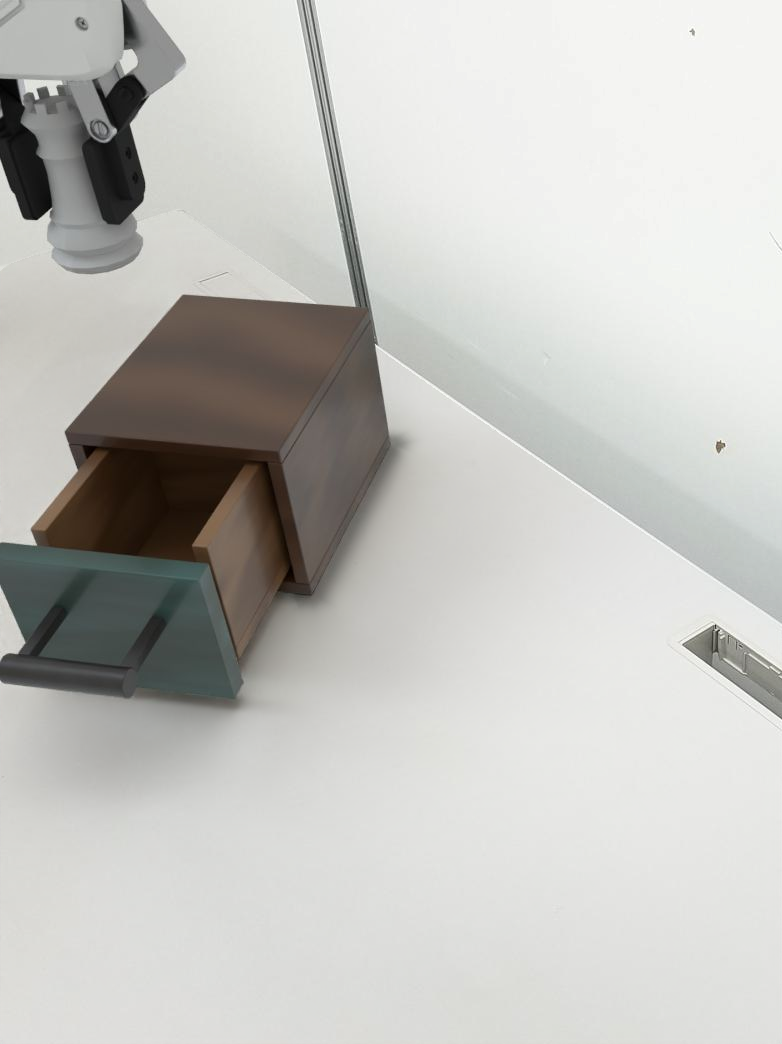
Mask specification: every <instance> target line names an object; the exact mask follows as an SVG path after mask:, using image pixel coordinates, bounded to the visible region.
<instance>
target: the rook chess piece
mask: <svg viewBox="0 0 782 1044" xmlns="http://www.w3.org/2000/svg"><path fill="white" fill-rule="evenodd" d="M56 91H57V94H55V95H51V94H50V91H49V88H48V86H47V85H45V86H40V87H37V88H36V92H37V96H38V98H37V99H36V97H35V94H34V92H31V91H27V92H26V94H25V95H24V96H23V98H24V100H23V103H24V106H25V110H24V113H23V115H22V117H21V123H22V124H23V125H24V126H25V127H26V128H28V129H29V130H30V131H31V132H32V133H34V134H35V136H36V138H37V140H38V144H39V145H38V148H37V151H36V154H37V155H38V156H39V157H40V158H42V159H43V162H44V165H45V168H46V171H47V175H48V180H49V186H50V192H51V198H52V208H51V209H50V210H49V219H50V221H49V223H48V224H47V228H46V229H47V230H46V241H47V242H48V243H49V244H50V245H51V246H52V247H53V248H52V249H51V257H50V258H51V259H52V260H53V261H54V262H55V264H57V265H58V266H60V267H61V268H62V269H63V270H65V271H67V272H70V273H72V274H76V275H97V274H104V273H109V272H113V271H116V270H119V269H123V268H125V267H126V266H128V265H129V264H131V263H133V262H134V261H135V260H136V259H137V257H139V255H140V253H141V251H142V248H143V246H144V237H143V236H142V235H140V233H138V231H137V230H138V221H137V219H136V217H135V216H134V214H133V212H132V213H131V214H130V215H129V216H128V217H127V218H126V219H125V220H124V221H123V222H122V223H121V224H120V225H112V224H107V223H106V221H104V220H103V219H102V216H101V213H100V209H99V206H98V203H97V199H96V196H95V193H94V189H93V186H92V183H91V179H90V176H89V173H88V169H87V166H86V162H85V159H84V156H83V152H82V145H83V143H84V142H86V141H87V140H88V139H89V138H90V134H89V132H88V130H87V128H86V125H85V123H84V121H83V118H82V116H81V113H80V111H79V109H78V106H77V104H76V102H75V99H74V97H73V95H72V92H71V90H70V87H69V85H68V84H56Z"/></svg>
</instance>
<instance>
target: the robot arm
mask: <svg viewBox="0 0 782 1044" xmlns="http://www.w3.org/2000/svg"><path fill="white" fill-rule="evenodd" d="M129 50H132V51H133V52H134V54H135V56H136V60H137V65H136V66H134V67H133V68H132V69H130V70H129V71H128V72H127V73H126V74H125V71H124V69H123V67H122V64H121V60H122V59H123V56H124V51H129ZM186 59H187V58H186V57H185V55H184V54H183V52H182V51H181V50H180V48H179V47H178V46H177V44H176V43H175V41H174V40H173V39H172V37H171V36H170V35H169V34H168V32H167V31H166V30H165V28H164V27H163V26H162V24H161V23H160V22H159V20H158V19H157V18H156V17H155V15H154V13H153V12H152V11H151V10H150V9H149V7H148V3H147V0H0V163H1V166H2V169H3V172H4V176H5V177H6V181H7V183H8V187H9V189H10V191H11V192H12V193H13V194H14V198H15V199H16V203H17V205H18V208H19V211H20V214H21V217H22V218H23V220H24V221H38V220H39V219H41V218H42V217H44V216H45V215H46V214H47V213H48V212H50V211H51V210H52V198H51V192H50V186H49V180H48V175H47V171H46V168H45V165H44V162H43V159H42V158H40V157H39V156H38V155H37V154H36V151H37V148H38V145H39V144H38V140H37V138H36V136H35V134H34V133H32V132H31V131H30V130H29V129H28V128H26V127H25V126H24V125H23V124H22V123H21V117H22V115H23V113H24V110H25V106H24V103H23V100H24V98H23V96H24V95H25V94H26V93H27V92H26V86H25V81H24V80H30V81H34V80H35V81H60V82H61V81H66V82H67V85H68V88H69V91H70V90H71V91H70V93H71V92H72V95H73V97H74V99H75V102H76V104H77V106H78V109H79V111H80V113H81V116H82V118H83V121H84V123H85V125H86V128H87V130H88V132H89V134H90V138H89V139H88V140H87V141H86V142H84V143H83V145H82V152H83V156H84V159H85V162H86V166H87V169H88V173H89V176H90V179H91V183H92V186H93V189H94V193H95V196H96V199H97V203H98V206H99V209H100V213H101V216H102V219H103V220H104V221H106V223H107V224H112V225H120V224H121V223H122V222H123V221H124V220H125V219H126V218H127V217H128V216H129V215H130V214H131V213H132V214H133V212H134V211H135V210H136V209H138V207H139V206H140V205H142V203H143V202H144V200H145V193H146V179H145V175H144V172H143V167H142V165H141V164H142V163H141V160H140V157H139V153H138V149H137V146H136V142H135V138H134V134H133V131H132V127H131V123H132V122H133V121H134V120H136V119H137V117H138V115H139V112H140V110H141V109H142V108H143V106H144V105H145V103H146V102H147V101H148V99H149V98H150V96H151V95H153V94H154V93H155V92H157V91H159V90H160V89H161V88H163V87H164V86H165V85H167V84H168V83H170V82H171V81H173V80H174V79H175V78H176V77H177V76H179V74H181V73H182V72H183V71H184V70H185V68H186V67H187V61H186Z"/></svg>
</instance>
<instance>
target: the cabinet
mask: <svg viewBox="0 0 782 1044" xmlns="http://www.w3.org/2000/svg"><path fill="white" fill-rule="evenodd" d="M371 319H372V317H371V311H370V308H369V307H364V306H351V305H350V306H349V305H338V304H337V305H335V304H321V303H311V302H309V303H308V302H296V301H295V302H294V301H281V300H268V299H267V300H266V299H252V298H241V297H240V298H239V297H223V296H213V295H211V296H210V295H199V294H198V295H197V294H184V293H183V294H181V296H180V297H179V298H178V299H177V300H176V301H175V302H174V304H173V305H172V306H171V307H170V308H169V309H168V310H167V312H166V313H165V314H164V316H162V318H161V319H160V320H159V321H158V322H157V324H156V325H155V326H154V327H153V328H152V329H151V330H150V331H149V333H148V334H147V335H146V336H145V338H144V339H143V340H142V341H140V343H139V344H138V345H137V346H136V347H135V349H134V350H133V351H132V352H131V353H130V355H128V357H127V358H126V360H124V361H123V363H122V364H121V365H120V366H119V367H118V368H117V369H116V371H115V372H114V373H113V374H112V376H111V377H110V378H109V379H108V380H107V381H106V383H104V385H103V386H102V387H101V388H100V390H99V391H98V392H96V394H95V395H94V397H92V399H91V400H90V401H89V402H88V403H87V404H86V406H84V408H83V409H82V410H81V411H80V413H78V415H77V416H76V417H75V419H74V420H73V421H72V422H71V423H70V424H69V425H68V426H67V428H65V430H64V436H65V439H66V441H67V443H68V448H69V450H70V453H71V456H72V459H73V461H74V464H75V467H76V469H77V471H78V470H79V469H80V468H81V466H82V465H83V464H84V463H85V462H86V460H87V459H88V458H89V457H90V455H91V454H92V453H93V452H94V451H95V449H96V448H97V447H98V446H99V447H110V448H121V449H132V450H142V451H153V452H164V453H175V454H186V455H197V456H208V457H219V458H230V459H241V460H252V461H263V462H268V467H269V471H270V476H271V480H272V484H273V488H274V492H275V497H276V501H277V505H278V509H279V514H280V518H281V522H282V526H283V530H284V535H285V539H286V543H287V547H288V551H289V556H290V560H291V564H292V565H291V567H290V568H289V570H288V572H287V574H286V576H285V577H284V579H283V581H282V583H281V585H280V586H279V588H278V590H277V592H280V593H291V594H299V595H310V596H311V595H313V593H314V591H315V589H316V587H317V585H318V583H319V582H320V580H321V578H322V576H323V574H324V572H325V570H326V569H327V567H328V564H329V563H330V561H331V558H332V557H333V555H334V553H335V551H336V549H337V548H338V545H339V544H340V542H341V540H342V538H343V535H344V534H345V532H346V530H347V529H348V526H349V524H350V522H351V520H352V519H353V516H354V515H355V513H356V511H357V509H358V507H359V505H360V503H361V501H362V499H363V498H364V496H365V493H366V492H367V490H368V488H369V486H370V484H371V482H372V480H373V479H374V476H375V474H376V472H377V470H378V469H379V467H380V465H381V463H382V461H383V459H384V457H385V456H386V453H387V451H388V450H389V448H390V446H391V439H390V431H389V424H388V419H387V412H386V411H387V410H386V406H385V399H384V393H383V386H382V380H381V374H380V367H379V362H378V353H377V348H376V342H375V341H376V340H375V336H374V329H373V323H372V320H371Z"/></svg>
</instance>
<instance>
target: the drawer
mask: <svg viewBox="0 0 782 1044" xmlns="http://www.w3.org/2000/svg"><path fill="white" fill-rule="evenodd" d="M30 531H31V535H32V536H33V539H34V542H35V545H34V544H33V545H32V544H25V543H24V544H23V543H13V542H6V541H1V542H0V588H1V591H2V593H3V596H4V597H5V600H6V602H7V604H8V606H9V608H10V611H11V614H12V615H13V618H14V620H15V622H16V625H17V627H18V629H19V632H20V634H21V635H22V638H23V640H24V642H25V643H24V644H23V645H22V647H21V648H20V650H19V651H17V653H14V652H8V653H6V654H4V655H3V656H2V657H1V658H0V683H2V684H5V685H12V686H20V687H28V688H36V689H43V690H53V691H60V692H68V693H69V692H70V693H78V694H84V695H86V694H87V695H94V696H102V697H110V698H118V699H126V700H127V699H128V700H129V699H131V698H132V697H133V696H134V695H135V693H136V692H137V689H144V690H153V691H159V692H160V691H161V692H169V693H177V694H186V695H193V696H194V695H195V696H200V697H201V696H203V697H211V698H220V699H227V700H236V698H237V697H238V694H239V693H240V690H241V689H242V687H243V685H244V679H243V676H242V672H241V669H240V665H239V662H238V659H241V657H242V655H243V653H244V652H245V650H246V648H247V646H248V644H249V643H250V640H251V639H252V637H253V635H254V634H255V632H256V629H257V628H258V626H259V624H260V623H261V622H262V619H263V617H264V616H265V613H266V612H267V610H268V608H269V606H270V604H271V603H272V601H273V599H274V597H275V595H276V594H277V592H278V591H277V590H278V588H279V586H280V585H281V583H282V581H283V579H284V577H285V576H286V574H287V572H288V570H289V568H290V567H291V565H292V564H291V560H290V556H289V551H288V547H287V543H286V539H285V535H284V530H283V526H282V522H281V518H280V514H279V509H278V505H277V501H276V497H275V492H274V488H273V484H272V480H271V476H270V471H269V467H268V462H263V461H252V460H241V459H230V458H219V457H208V456H197V455H186V454H175V453H164V452H153V451H142V450H132V449H121V448H110V447H99V446H98V447H97V448H96V449H95V451H94V452H93V453H92V454H91V455H90V457H89V458H88V459H87V460H86V462H85V463H84V464H83V465H82V466H81V468H80V469H79V470H77V471H76V472H75V474H74V475H73V476H72V477H71V478H70V480H69V481H68V482H67V483H66V485H65V486H64V487H63V488H62V489H61V491H59V493H58V494H57V496H56V497H55V498H54V499H53V501H52V502H51V503H50V504H49V505H48V507H47V508H46V509H45V510H44V512H43V513H42V514H41V515H40V517H39V518H38V519H37V520H36V522H34V524H33V525H32V526H31V528H30Z"/></svg>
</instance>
